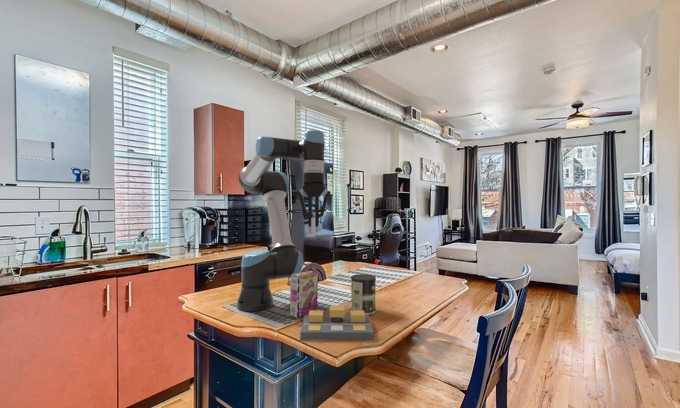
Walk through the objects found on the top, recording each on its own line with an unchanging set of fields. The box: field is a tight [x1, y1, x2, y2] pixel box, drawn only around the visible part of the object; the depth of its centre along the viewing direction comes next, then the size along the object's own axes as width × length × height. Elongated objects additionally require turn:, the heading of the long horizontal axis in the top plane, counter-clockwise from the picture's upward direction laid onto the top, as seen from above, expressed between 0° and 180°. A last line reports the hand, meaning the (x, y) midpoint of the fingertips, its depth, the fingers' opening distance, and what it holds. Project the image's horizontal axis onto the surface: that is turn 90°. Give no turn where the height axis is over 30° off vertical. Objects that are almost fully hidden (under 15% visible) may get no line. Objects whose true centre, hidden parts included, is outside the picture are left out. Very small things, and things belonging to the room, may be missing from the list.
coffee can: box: [350, 273, 377, 316], centre depth 131 cm, size 10×10×14 cm
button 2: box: [329, 305, 345, 322], centre depth 114 cm, size 5×5×5 cm
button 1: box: [308, 309, 324, 322], centre depth 114 cm, size 5×5×5 cm
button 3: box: [349, 309, 365, 322], centre depth 114 cm, size 5×5×5 cm
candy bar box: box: [289, 270, 319, 319], centre depth 127 cm, size 11×5×16 cm, turn 141°
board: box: [299, 314, 375, 341], centre depth 111 cm, size 24×16×3 cm, turn 91°
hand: (313, 235), depth 119 cm, fingers closed
